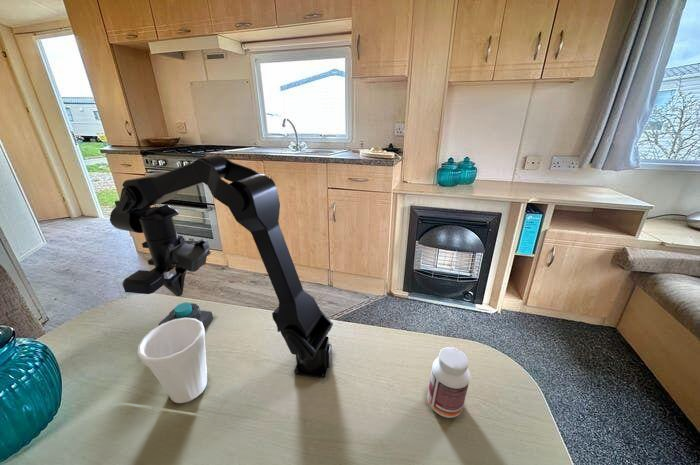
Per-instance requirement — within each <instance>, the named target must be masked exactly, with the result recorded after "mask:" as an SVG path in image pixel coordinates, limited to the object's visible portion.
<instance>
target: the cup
mask: <svg viewBox="0 0 700 465" xmlns="http://www.w3.org/2000/svg"><path fill="white" fill-rule="evenodd" d="M205 339H206V330H205V328H204V326H203V324H202V322H200V321H199V320H197V319H195V318H180V319H174V320H171V321H168V322H166V323H163V324H161V325H157V326H156V327H154V328H152V329H151V330H150V331H148V333H146V334H145V335H144V336H143V337H142V338H141V340H140V342H139V343H138V345H137V347H136V350H137V356H138V358H139V360H140V361H141V362H142V364H144V365H145V366H146V367H147V368H149V369H150V371H151V372H152V373H153V375H154V376H155V377H156V379H157V381H158V382H159V384H160V385H161V386H162V388H163V389H164V390H165V392H166V393H167V394H168V396H169V398H170V400H171V401H172V402H173V403H176V404H184V403H189V402H191V401H193V400H194V399H196V398H198V396H200V395H201V394H202V393H203V392H204V390H205V389H206V388H207V384H208V372H207V371H208V370H207V355H206V354H207V353H206V342H205Z"/></svg>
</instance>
